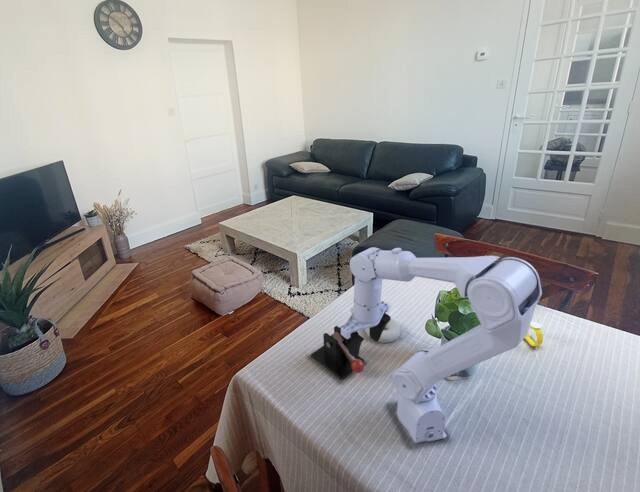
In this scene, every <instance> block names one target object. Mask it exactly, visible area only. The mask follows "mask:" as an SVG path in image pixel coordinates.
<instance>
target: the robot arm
mask: <svg viewBox="0 0 640 492" xmlns="http://www.w3.org/2000/svg"><path fill="white" fill-rule="evenodd" d="M500 258H501V257H500V256H497V255H481V256H467V257H466V256H465V257H464V256H463V257H460V256H458V257H457V256H453V257H446V256H445V257H417V256H416V255H415V254H414V253H413V252H411V251H410V250H409V251H408V250H403V249H402V248H401V247H395V248H393V249H391V250H383V249H381V248H378V247H376V246H374V247H369V248H367V249H365V250H363V251H361V252H359V253H357V254H355V255H354V256H352V257H351V258H350V260H349V269H350V271H351V273H352V276H354V288H353V306H352V307H350V309H349V311H350V313H351V314H350V316H349V317H348V319H347V321H346V322H345V324H343V325H341V326H339V328H340V333H341V335H342V336H343V338H344V339H345V341H346V344H347V347H348V350H349V354H351V355H352V356H353V357H355V358H357V357H358V356H359V355H360V350H361V346H362V344H363V342H364V340H365V337H363V336H362V335H360V333H359V331H363V330H365V329H367V328H369V333H370V337H369V338H370V339H371V338H372V339H371V340H373V341H374V342H376V343H379V342H378V341H379V339H380V337H381V334H382V332H383V330H385V329H386V328H385V326H386V325H387V323H388V322H389V321H390V320H391V319H392V317H391V315H390V314H387V313H388V312H389V311H390V303H388V302H386V301H384V300H381V299H382V290H383V289H382V288H383V280H389V281H398V282H406V283H408V282H412V281H413V280H414V279H415V278H416V277H417V278H422V279H423V278H424V279H427V280H428V279H429V280H435V281H440V282H441V281H442V282H447V283H453V284H454V285H455V287H456V289H457V291H458V294H459V295H460V297H461V298H463V299H465V298H468V301H469V304H470V305H471V307H472V309H473V311H474V313H475V315H476V317H477V319H478V321H479V322H480V324H478V325H477V326H475V327H473V328H471V329H470V330H467V331H465V332H464V333H462V334H460V335H458V336H456V337H454V338H453V339H451V340H449V341H447V342H445V343H444V344H442V345H440V346H438V347H435V346H434V347H432V348H428V349H427V348H420V349H418V350H417V351H416V352H415V353H414V354H413V355H412V356H411V357H410V358H409V359H407V360H406V361H405V362H403V364H401V366H400V367H398V368H396V369H394V370H393V372H392V373H391V380H392V384H393V386H394V388H395V389H396V391H397V406H396V407H397V408H396V415H397V418H398V420H399V422H400V423H401V425H402V426H403V427H404V429H406V430H407V433H409V435H410V438H411V439H412V441H413V442H414V444H418V443H423V442H427V443H430V442H434V441H437V440H443V439H446V438H447V433H446V432H445V430H444V427H445V422H446V421H445V418H446V415H445V413H444V411H443V410H442V408H441V406H440V404H439V401H438V398H437V384H438V383H439V382H440V381H441V380H443V379H445V377H448V376H450V375H452V374H455V373H457V372H459V373H460V372H462V371H464V370H466V369H469V368H470V367H473V366H475V365H478V364H480V363H483V362H485V361H487V360H490V359H492V358H494V357H497V356H499V355H501V354H504V353H506V352H509V351H511V350H513V349H516V348H517V347H518V346H520V344H521V343H522V342H523V340H525V337H526V335H527V333H529V329H530V327H529V326H530V323H531V321H533V317H534V313H535V311H536V307H537V305H538V303H539V301H540V299H541V297H542V295H543V290H542V284H541V279H540V276H539V272H538V271H537V270H536V268H535V267H534V266H533V265H532V264H531V263H529V262H528V261H527V260H524V259H522V258H520V257H515V256H508V257H504V258H501V259H500Z"/></svg>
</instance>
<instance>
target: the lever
mask: <svg viewBox="0 0 640 492" xmlns="http://www.w3.org/2000/svg"><path fill="white" fill-rule="evenodd" d="M330 336H332V337H333V338H335V339H336V340H337V341H338V347H339V348H340V349H341V350H342V352H343V353H344V354H345V355H346V357H347V358H348V359H349V360H350V362H351V368H352V370H353V371H352V372H354V373H356V374H360V373H363V372H364V369H365V363H364V362H362V361H361V360H360V359H355V358H354V357H353V356H352V355H351V354H349V350H348V349H347V348H346V347H345V345H344V344H343V343H342V342H343V341H344V339H343V338H342V336H341V335H340V334H339V333H338V332H335V333H334V332H333V333H332V334H330Z"/></svg>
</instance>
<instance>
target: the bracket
mask: <svg viewBox="0 0 640 492" xmlns="http://www.w3.org/2000/svg"><path fill="white" fill-rule="evenodd" d="M335 332H338V333H339V334H340V335H341V333H340V326H338V325H336V326H334V327H333V334H334V333H335ZM322 336H323V337H322V338H323V346H321V347H319V348H318V349H316V350H315V351H313V352H312V353H311V354H310V357H311V358H312V359H314V360H315V361H316V362H317V363H318V364H320V365H321V366H322V367H323V368H325V369H326V370H327V371H328V372H330V373H331V374H332V375H333V376H335V377H336V378H337V379H339V381H341V380H343V379H344V378H345V377H346V376H348V375H349V374H351V372H354V371H353V370H352V368H351V362H350V360H349V359H348V358H347V357H346V355H345V354H344V353H343V352H342V350H341V349H340V348H339V347H338V341H337V340H336V339H335V338H333V337H332V336H331V334H328V333H327V332H324V333H323V334H322ZM341 336H342V335H341ZM342 338H343V336H342ZM343 339H344V338H343ZM342 343H343V344H344V345H345V347H346V348H347V349H348V347H347V344H346V341H345V339H344V341H343V342H342ZM354 358H355V357H354ZM355 359H360V360H361V361H362V362H363V363H364V362H365V359H363V358H362V357H361V356H359V355H358V357H357V358H355Z"/></svg>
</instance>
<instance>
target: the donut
mask: <svg viewBox="0 0 640 492" xmlns="http://www.w3.org/2000/svg"><path fill="white" fill-rule="evenodd" d="M364 331H365V333H366V336H368V337H369V338H370V333H369V328H367V329H364ZM401 333H402V332H401V327H400V325H399V323H398V322H397V321H396V320H394V319H393V318H391V320H390V321H389V322H388V323H387V325H386V326H385V328H384V330H383V332H382V334H381V337H380V339H379V341H378V342H377V343H382V344H389V343H392V342H395V341H396V340H398V339H399V338H400V335H401ZM370 339H371V340H373V339H372V338H370Z"/></svg>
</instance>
